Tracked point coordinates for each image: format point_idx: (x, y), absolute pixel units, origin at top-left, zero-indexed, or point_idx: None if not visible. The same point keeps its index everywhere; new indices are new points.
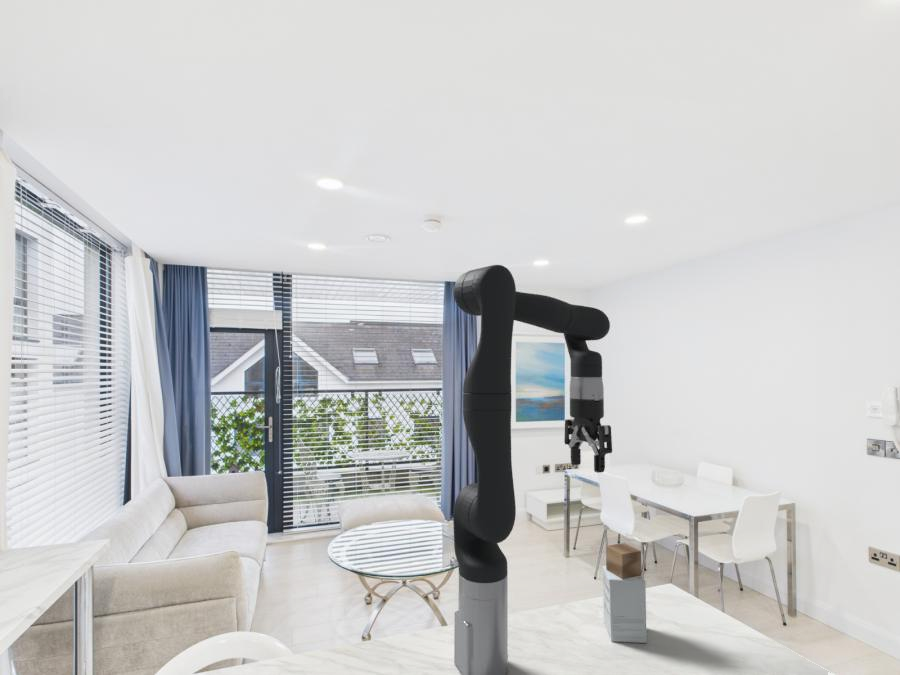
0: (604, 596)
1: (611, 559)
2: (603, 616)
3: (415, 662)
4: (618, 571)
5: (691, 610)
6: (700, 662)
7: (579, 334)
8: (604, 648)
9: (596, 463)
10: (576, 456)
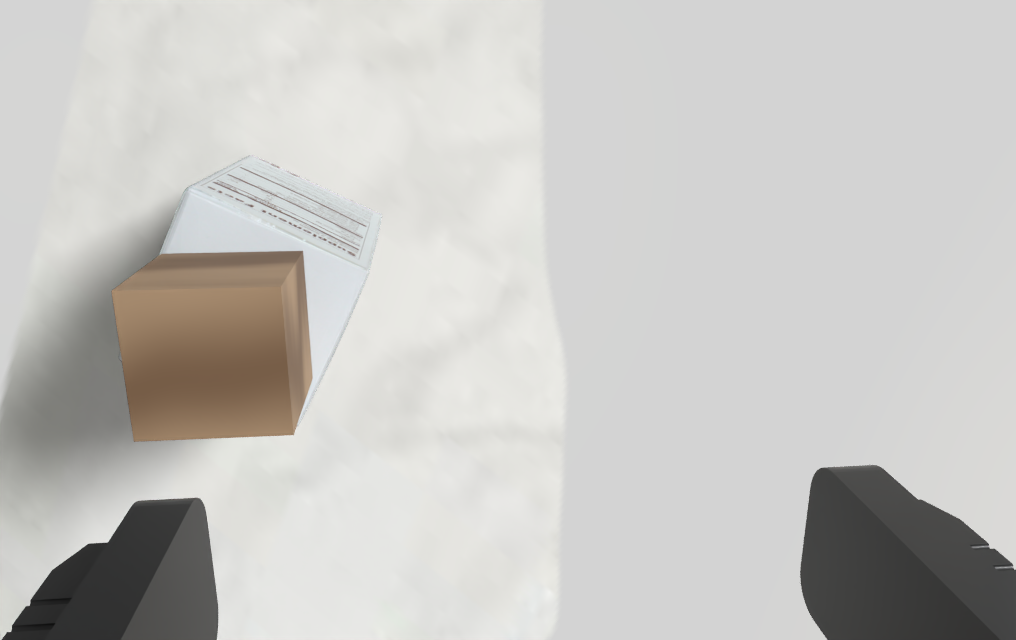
0: (343, 222)
1: (238, 269)
2: (377, 216)
3: None
4: (185, 259)
5: (360, 595)
6: (41, 372)
7: None
8: (215, 93)
9: (85, 595)
10: (881, 615)
